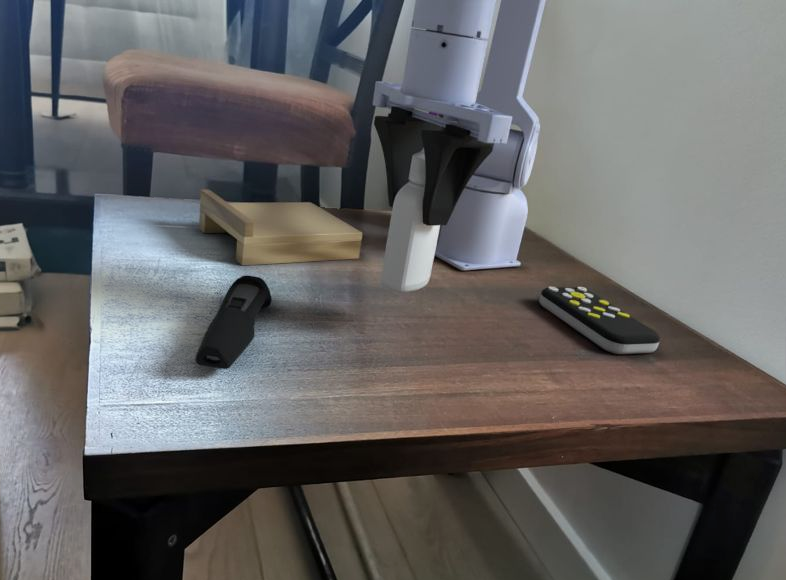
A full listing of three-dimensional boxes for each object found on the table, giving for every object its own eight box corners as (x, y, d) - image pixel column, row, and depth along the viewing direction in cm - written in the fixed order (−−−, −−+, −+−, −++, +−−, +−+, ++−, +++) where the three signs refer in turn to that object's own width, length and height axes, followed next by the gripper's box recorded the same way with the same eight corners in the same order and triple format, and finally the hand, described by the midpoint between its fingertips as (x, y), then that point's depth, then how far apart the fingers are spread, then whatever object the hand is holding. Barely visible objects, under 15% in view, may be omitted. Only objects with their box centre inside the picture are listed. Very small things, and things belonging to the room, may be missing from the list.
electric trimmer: (180, 381, 48) (181, 340, 47) (231, 298, 62) (233, 264, 61) (234, 389, 48) (237, 348, 47) (273, 305, 62) (276, 271, 61)
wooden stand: (308, 225, 87) (312, 189, 85) (358, 258, 78) (364, 219, 76) (198, 228, 79) (200, 189, 77) (241, 265, 70) (245, 222, 68)
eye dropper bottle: (446, 290, 59) (476, 146, 54) (391, 294, 57) (417, 143, 51) (417, 271, 63) (443, 134, 58) (364, 275, 60) (386, 131, 55)
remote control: (610, 357, 63) (617, 337, 62) (532, 301, 73) (537, 284, 73) (662, 354, 66) (669, 335, 65) (579, 301, 76) (584, 284, 75)
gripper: (351, 17, 54) (330, 190, 60) (472, 39, 44) (432, 246, 50) (423, 29, 58) (396, 190, 64) (550, 51, 48) (504, 242, 54)
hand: (417, 215), depth 57 cm, fingers closed on eye dropper bottle, 4 cm apart
